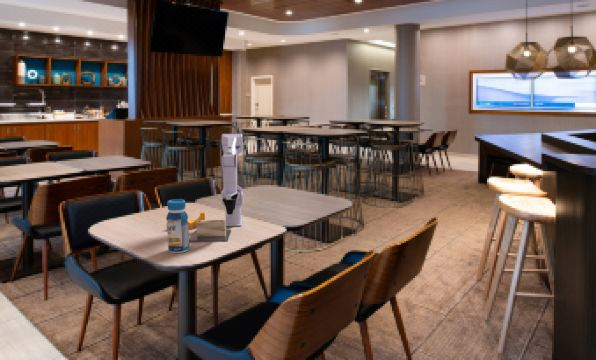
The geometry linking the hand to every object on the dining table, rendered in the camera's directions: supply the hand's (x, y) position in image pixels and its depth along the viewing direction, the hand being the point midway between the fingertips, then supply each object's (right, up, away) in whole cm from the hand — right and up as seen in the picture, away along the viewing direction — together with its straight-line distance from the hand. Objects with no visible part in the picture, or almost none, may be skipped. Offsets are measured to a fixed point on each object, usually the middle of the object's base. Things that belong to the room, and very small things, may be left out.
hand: (231, 212), depth 196 cm
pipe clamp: (-20, -8, +11) cm, 24 cm away
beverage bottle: (-17, -14, -21) cm, 30 cm away
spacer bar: (-8, -10, -4) cm, 13 cm away
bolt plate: (-8, -10, -4) cm, 14 cm away
